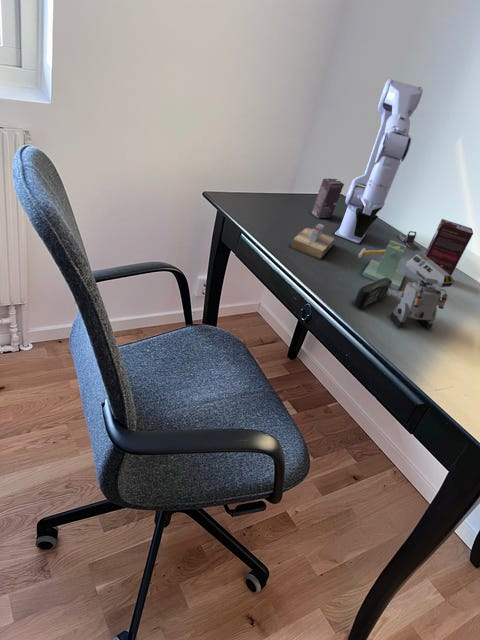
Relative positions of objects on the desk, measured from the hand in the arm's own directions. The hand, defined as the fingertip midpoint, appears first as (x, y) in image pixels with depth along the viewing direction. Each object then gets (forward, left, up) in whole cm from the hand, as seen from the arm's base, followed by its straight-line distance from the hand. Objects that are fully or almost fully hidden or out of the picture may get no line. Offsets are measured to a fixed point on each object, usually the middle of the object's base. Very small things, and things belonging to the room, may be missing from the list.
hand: (360, 232), depth 126 cm
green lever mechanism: (0, +10, -9) cm, 14 cm away
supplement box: (-13, +22, -9) cm, 27 cm away
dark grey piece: (+16, +10, -9) cm, 21 cm away
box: (-27, -17, -9) cm, 33 cm away
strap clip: (-32, +12, -9) cm, 35 cm away
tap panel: (0, -11, -9) cm, 15 cm away
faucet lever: (0, +7, -4) cm, 8 cm away
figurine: (+18, +19, -9) cm, 28 cm away
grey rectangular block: (0, -11, -7) cm, 13 cm away
